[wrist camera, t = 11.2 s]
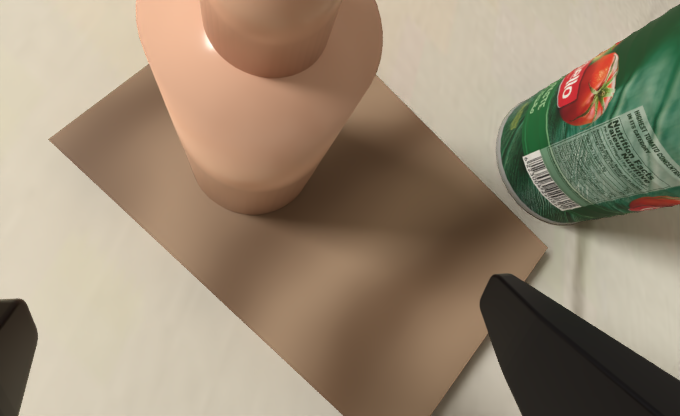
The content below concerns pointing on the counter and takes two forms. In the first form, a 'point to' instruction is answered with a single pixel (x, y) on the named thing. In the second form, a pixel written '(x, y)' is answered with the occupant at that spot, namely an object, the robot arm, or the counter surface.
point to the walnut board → (327, 245)
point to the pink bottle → (259, 87)
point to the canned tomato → (601, 133)
